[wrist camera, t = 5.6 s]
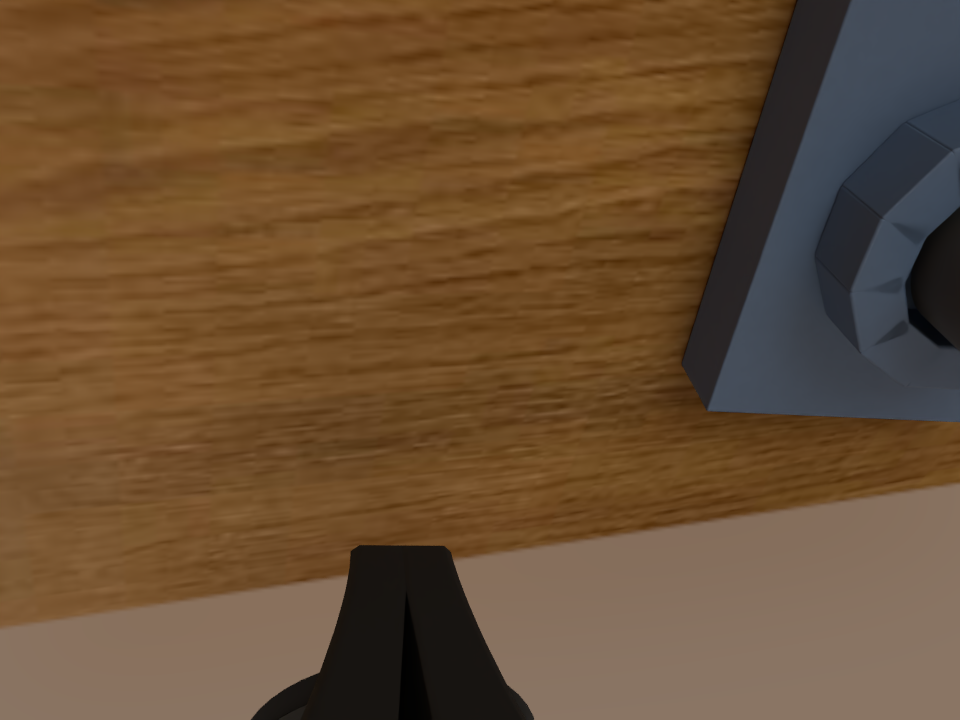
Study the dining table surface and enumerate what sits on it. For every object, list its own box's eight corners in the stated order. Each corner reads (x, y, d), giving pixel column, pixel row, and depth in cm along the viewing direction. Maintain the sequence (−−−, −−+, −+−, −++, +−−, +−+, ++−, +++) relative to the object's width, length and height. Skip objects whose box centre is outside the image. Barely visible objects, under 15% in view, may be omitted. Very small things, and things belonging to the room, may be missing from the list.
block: (966, 379, 25) (1056, 468, 22) (680, 364, 24) (731, 457, 20) (1182, -16, 19) (1350, 25, 16) (818, -70, 18) (921, -37, 14)
